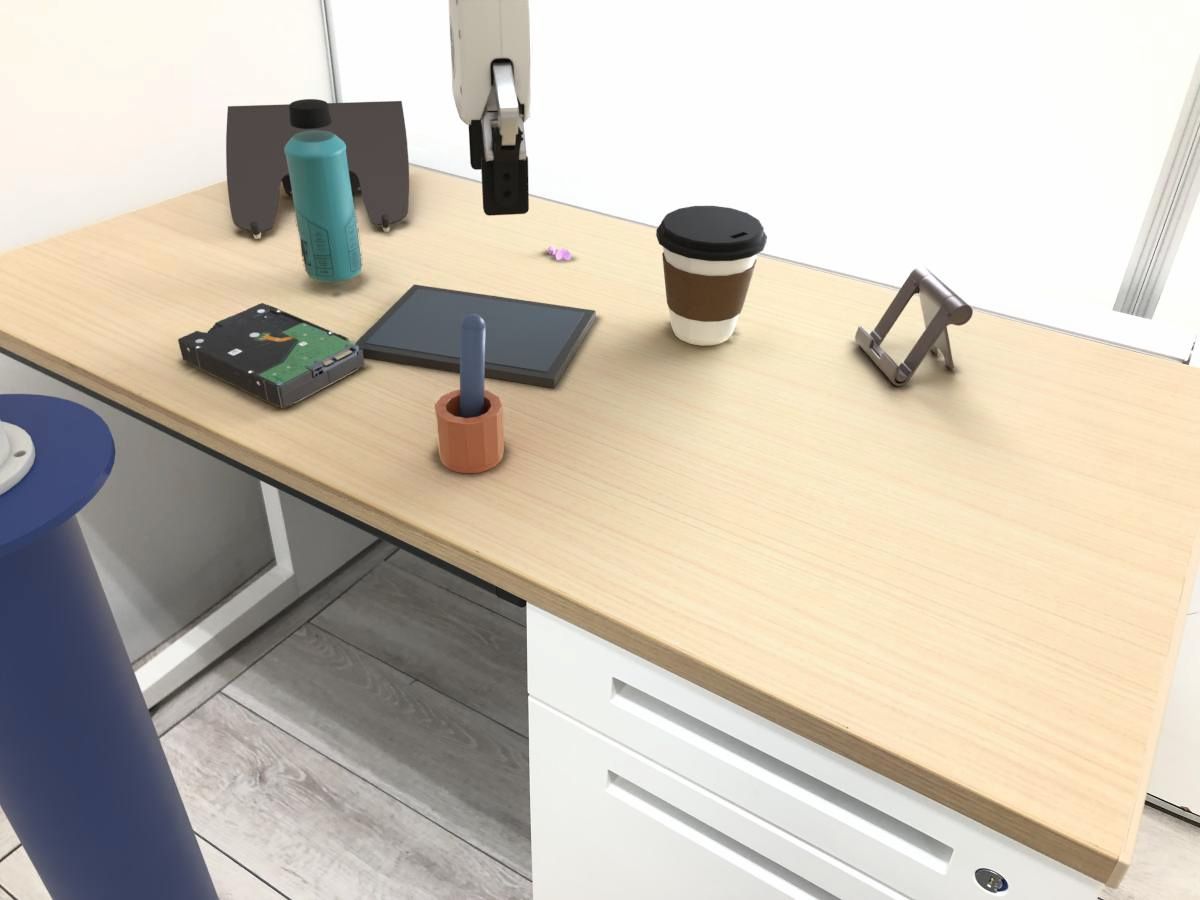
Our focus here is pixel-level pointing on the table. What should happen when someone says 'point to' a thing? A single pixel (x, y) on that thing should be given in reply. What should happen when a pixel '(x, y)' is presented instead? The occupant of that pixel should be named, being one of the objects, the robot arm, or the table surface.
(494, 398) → the pen pot
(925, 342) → the tablet stand
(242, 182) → the laptop tray
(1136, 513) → the table surface
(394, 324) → the tablet
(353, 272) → the beverage bottle
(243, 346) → the disk drive
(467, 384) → the blue rounded rod
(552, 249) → the pink pawn
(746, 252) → the coffee cup
